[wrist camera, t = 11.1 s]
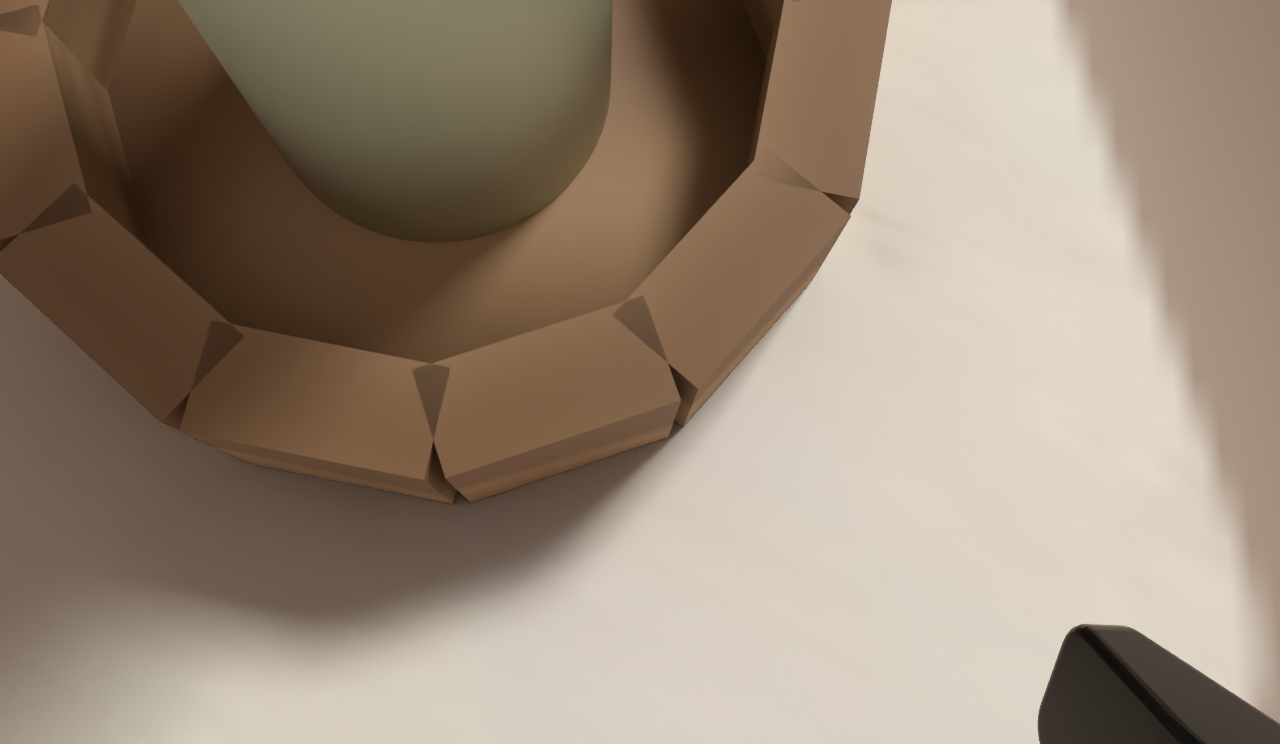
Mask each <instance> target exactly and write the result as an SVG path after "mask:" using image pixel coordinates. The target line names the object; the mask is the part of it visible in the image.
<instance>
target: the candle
mask: <svg viewBox="0 0 1280 744" xmlns="http://www.w3.org/2000/svg"><path fill="white" fill-rule="evenodd" d="M178 1H179V3H180V4H181V6H182V7H183V9H184V10H185V12H186V13H187V15H188V16H189V18H190V19H191V20H192V22H193V23H194V25H195V26H196V28H197V29H198V31H199V32H200V34H201V35H202V37H203V38H204V40H205V41H206V43H207V44H208V46H209V47H210V49H211V50H212V52H213V53H214V55H215V56H216V57H217V59H218V60H219V62H220V63H221V65H222V66H223V68H224V69H225V71H226V72H227V74H228V75H229V77H230V78H231V80H232V81H233V83H234V84H235V86H236V87H237V89H238V90H239V91H240V93H241V94H242V96H243V97H244V99H245V100H246V102H247V103H248V105H249V106H250V108H251V109H252V111H253V112H254V114H255V115H256V117H257V118H258V120H259V121H260V123H261V124H262V126H263V127H264V128H265V130H266V131H267V133H268V134H269V136H270V137H271V139H272V140H273V142H274V143H275V145H276V146H277V148H278V149H279V151H280V152H281V154H282V155H283V157H284V158H285V160H286V161H287V162H288V164H289V165H290V167H291V168H292V170H293V171H294V172H295V174H296V175H297V176H298V178H299V179H300V180H301V181H302V183H303V184H304V185H305V187H306V188H307V189H308V190H309V191H310V192H312V193H313V194H314V195H315V196H316V197H317V198H318V199H319V200H320V201H321V202H322V203H323V204H325V205H326V206H327V207H329V208H330V209H331V210H333V211H334V212H336V213H337V214H338V215H340V216H342V217H343V218H345V219H347V220H349V221H351V222H353V223H354V224H356V225H358V226H360V227H363V228H365V229H368V230H370V231H373V232H376V233H378V234H381V235H385V236H389V237H393V238H397V239H401V240H408V241H417V242H425V243H434V242H455V241H463V240H470V239H475V238H479V237H483V236H486V235H490V234H494V233H497V232H499V231H502V230H504V229H507V228H509V227H512V226H514V225H516V224H518V223H520V222H522V221H524V220H525V219H527V218H529V217H531V216H533V215H534V214H536V213H537V212H539V211H540V210H541V209H543V208H544V207H546V206H547V205H548V204H550V203H551V202H552V201H554V200H555V199H556V198H557V197H558V196H559V195H560V194H561V193H562V192H563V191H564V190H565V189H566V188H567V187H568V186H569V185H570V184H571V183H572V182H573V180H574V179H575V178H576V177H577V175H578V174H579V173H580V172H581V171H582V169H583V168H584V166H585V165H586V163H587V161H588V160H589V158H590V156H591V155H592V153H593V151H594V150H595V147H596V145H597V143H598V140H599V138H600V136H601V133H602V131H603V128H604V124H605V121H606V117H607V113H608V109H609V101H610V93H611V57H612V0H178Z"/></svg>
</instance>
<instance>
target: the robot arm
mask: <svg viewBox="0 0 1280 744" xmlns="http://www.w3.org/2000/svg"><path fill="white" fill-rule="evenodd" d="M1038 735H1039V741H1040V744H1280V724H1279V723H1277V722H1276V721H1274V720H1273V719H1271V718H1270V717H1268V716H1267V715H1265V714H1264V713H1262V712H1261V711H1259V710H1258V709H1256V708H1255V707H1253V706H1251V705H1250V704H1248V703H1247V702H1245V701H1244V700H1242V699H1241V698H1239V697H1238V696H1236V695H1235V694H1233V693H1232V692H1230V691H1229V690H1227V689H1225V688H1224V687H1222V686H1221V685H1219V684H1218V683H1216V682H1215V681H1213V680H1212V679H1210V678H1209V677H1207V676H1206V675H1204V674H1202V673H1201V672H1199V671H1198V670H1196V669H1195V668H1193V667H1192V666H1190V665H1189V664H1187V663H1186V662H1184V661H1183V660H1181V659H1179V658H1178V657H1176V656H1175V655H1173V654H1172V653H1170V652H1169V651H1167V650H1166V649H1164V648H1163V647H1161V646H1160V645H1158V644H1157V643H1155V642H1153V641H1152V640H1150V639H1149V638H1147V637H1146V636H1144V635H1143V634H1141V633H1140V632H1138V631H1136V630H1135V629H1133V628H1130V627H1126V626H1118V625H1093V624H1081V625H1078V626H1076V627H1074V628H1072V629H1071V630H1070V631H1069V632H1068V634H1067V635H1066V637H1065V639H1064V641H1063V643H1062V646H1061V649H1060V652H1059V655H1058V657H1057V660H1056V663H1055V666H1054V669H1053V671H1052V674H1051V677H1050V680H1049V683H1048V685H1047V688H1046V691H1045V694H1044V697H1043V699H1042V702H1041V705H1040V709H1039V715H1038Z"/></svg>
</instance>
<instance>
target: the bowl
mask: <svg viewBox="0 0 1280 744" xmlns="http://www.w3.org/2000/svg"><path fill="white" fill-rule="evenodd" d="M891 3H892V0H612V57H611V93H610V101H609V109H608V113H607V117H606V121H605V124H604V128H603V131H602V133H601V136H600V138H599V140H598V143H597V145H596V147H595V150H594V151H593V153H592V155H591V156H590V158H589V160H588V161H587V163H586V165H585V166H584V168H583V169H582V171H581V172H580V173H579V174H578V175H577V177H576V178H575V179H574V180H573V182H572V183H571V184H570V185H569V186H568V187H567V188H566V189H565V190H564V191H563V192H562V193H561V194H560V195H559V196H558V197H557V198H556V199H555V200H554V201H552V202H551V203H550V204H548V205H547V206H546V207H544V208H543V209H541V210H540V211H539V212H537V213H536V214H534V215H533V216H531V217H529V218H527V219H525V220H524V221H522V222H520V223H518V224H516V225H514V226H512V227H509V228H507V229H504V230H502V231H499V232H497V233H494V234H490V235H486V236H483V237H479V238H475V239H470V240H463V241H455V242H434V243H425V242H417V241H408V240H401V239H397V238H393V237H389V236H385V235H381V234H378V233H376V232H373V231H370V230H368V229H365V228H363V227H360V226H358V225H356V224H354V223H353V222H351V221H349V220H347V219H345V218H343V217H342V216H340V215H338V214H337V213H336V212H334V211H333V210H331V209H330V208H329V207H327V206H326V205H325V204H323V203H322V202H321V201H320V200H319V199H318V198H317V197H316V196H315V195H314V194H313V193H312V192H310V191H309V190H308V189H307V188H306V187H305V185H304V184H303V183H302V181H301V180H300V179H299V178H298V176H297V175H296V174H295V172H294V171H293V170H292V168H291V167H290V165H289V164H288V162H287V161H286V160H285V158H284V157H283V155H282V154H281V152H280V151H279V149H278V148H277V146H276V145H275V143H274V142H273V140H272V139H271V137H270V136H269V134H268V133H267V131H266V130H265V128H264V127H263V126H262V124H261V123H260V121H259V120H258V118H257V117H256V115H255V114H254V112H253V111H252V109H251V108H250V106H249V105H248V103H247V102H246V100H245V99H244V97H243V96H242V94H241V93H240V91H239V90H238V89H237V87H236V86H235V84H234V83H233V81H232V80H231V78H230V77H229V75H228V74H227V72H226V71H225V69H224V68H223V66H222V65H221V63H220V62H219V60H218V59H217V57H216V56H215V55H214V53H213V52H212V50H211V49H210V47H209V46H208V44H207V43H206V41H205V40H204V38H203V37H202V35H201V34H200V32H199V31H198V29H197V28H196V26H195V25H194V23H193V22H192V20H191V19H190V18H189V16H188V15H187V13H186V12H185V10H184V9H183V7H182V6H181V4H180V3H179V1H178V0H0V274H2V275H3V276H4V277H5V278H6V279H7V280H8V281H9V282H10V283H11V284H12V285H13V286H14V287H16V288H17V289H18V290H19V291H20V292H21V293H22V294H23V295H24V296H25V297H26V298H27V299H29V300H30V301H31V302H32V303H33V304H34V305H35V306H36V307H37V308H38V309H39V310H40V311H42V312H43V313H44V314H45V315H46V316H47V317H48V318H49V319H50V320H51V321H52V322H53V323H54V324H56V325H57V326H58V327H59V328H60V329H61V330H62V331H63V332H64V333H65V334H66V335H67V336H69V337H70V338H71V339H72V340H73V341H74V342H75V343H76V344H77V345H78V346H79V347H80V348H82V349H83V350H84V351H85V352H86V353H87V354H88V355H89V356H90V357H91V358H92V359H93V360H95V361H96V362H97V363H98V364H99V365H100V366H101V367H102V368H103V369H104V370H105V371H106V372H107V373H109V374H110V375H111V376H112V377H113V378H114V379H115V380H116V381H117V382H118V383H119V384H120V385H122V386H123V387H124V388H125V389H126V390H127V391H128V392H129V393H130V394H131V395H132V396H133V397H135V398H136V399H137V400H138V401H139V402H140V403H141V404H142V405H143V406H144V407H145V408H146V409H147V410H149V411H150V412H151V413H152V414H153V415H154V416H155V417H156V418H157V419H158V420H159V421H160V422H162V423H165V424H167V425H169V426H171V427H173V428H175V429H177V430H179V431H180V432H182V433H185V434H187V435H189V436H191V437H193V438H195V439H197V440H200V441H202V442H204V443H206V444H208V445H210V446H212V447H215V448H217V449H219V450H221V451H223V452H225V453H227V454H230V455H232V456H234V457H236V458H238V459H240V460H242V461H245V462H247V463H250V464H255V465H260V466H265V467H270V468H275V469H279V470H284V471H289V472H294V473H299V474H304V475H309V476H314V477H319V478H324V479H329V480H334V481H339V482H344V483H349V484H354V485H359V486H364V487H369V488H374V489H379V490H384V491H389V492H394V493H399V494H404V495H409V496H414V497H419V498H424V499H429V500H434V501H439V502H444V503H449V504H453V502H454V498H455V493H456V491H459V492H460V493H461V494H462V495H463V496H464V497H465V498H466V499H467V500H468V501H469V502H470V503H473V502H476V501H479V500H482V499H485V498H488V497H491V496H494V495H497V494H499V493H502V492H505V491H508V490H511V489H514V488H517V487H520V486H523V485H526V484H529V483H532V482H535V481H538V480H541V479H544V478H547V477H550V476H553V475H556V474H559V473H562V472H565V471H568V470H571V469H574V468H577V467H580V466H583V465H586V464H589V463H592V462H595V461H598V460H601V459H604V458H607V457H610V456H613V455H616V454H619V453H622V452H625V451H628V450H631V449H634V448H637V447H640V446H643V445H646V444H649V443H652V442H655V441H658V440H661V439H664V438H667V437H669V434H670V431H671V428H672V425H673V423H674V420H675V421H676V422H677V423H679V424H680V425H681V426H682V427H684V426H685V425H686V423H687V422H688V421H689V420H690V419H691V418H692V417H693V415H694V414H695V413H696V412H697V411H698V410H699V409H700V408H701V406H702V405H703V404H704V403H705V402H706V401H707V400H708V398H709V397H710V396H711V395H712V394H713V393H714V392H715V390H716V389H717V388H718V387H719V386H720V385H721V384H722V382H723V381H724V380H725V379H726V378H727V377H728V376H729V375H730V373H731V372H732V371H733V370H734V369H735V368H736V367H737V365H738V364H739V363H740V362H741V361H742V360H743V359H744V357H745V356H746V355H747V354H748V353H749V352H750V351H751V349H752V348H753V347H754V346H755V345H756V344H757V343H758V341H759V340H760V339H761V338H762V337H763V336H764V335H765V334H766V332H767V331H768V330H769V329H770V328H771V327H772V326H773V324H774V323H775V322H776V321H777V320H778V319H779V318H780V316H781V315H782V314H783V313H784V312H785V311H786V310H787V308H788V307H789V306H790V305H791V304H792V303H793V302H794V301H795V299H796V298H797V297H798V296H799V295H800V294H801V293H802V291H803V290H804V289H805V288H806V287H807V286H808V285H809V283H810V282H811V281H812V280H813V278H814V277H815V275H816V273H817V272H818V270H819V268H820V267H821V265H822V263H823V262H824V260H825V258H826V257H827V255H828V253H829V252H830V250H831V249H832V247H833V245H834V244H835V242H836V240H837V239H838V237H839V235H840V234H841V232H842V230H843V229H844V227H845V225H846V224H847V222H848V220H849V219H850V217H851V215H850V213H851V212H852V210H853V208H854V207H855V205H856V203H857V202H858V200H859V197H860V191H861V185H862V179H863V173H864V167H865V161H866V155H867V149H868V142H869V136H870V130H871V124H872V118H873V112H874V106H875V100H876V94H877V88H878V82H879V76H880V70H881V63H882V57H883V51H884V45H885V39H886V33H887V27H888V21H889V15H890V9H891Z"/></svg>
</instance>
